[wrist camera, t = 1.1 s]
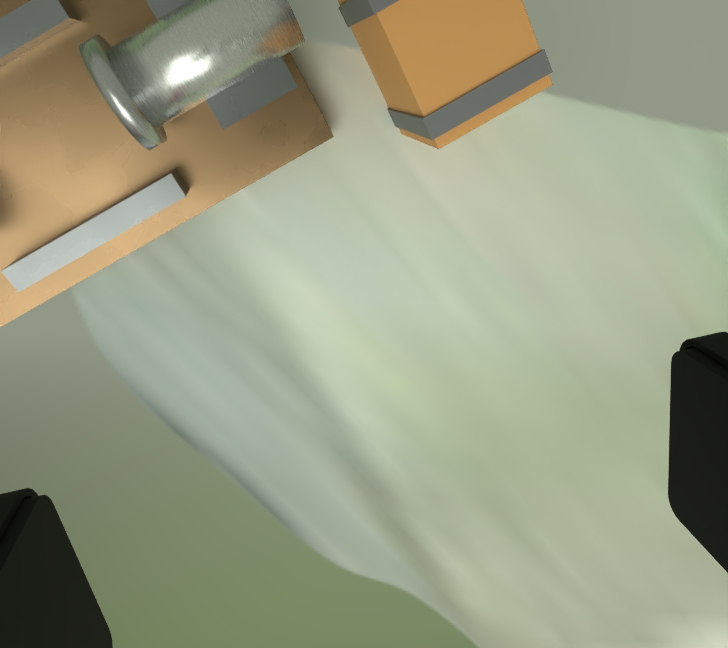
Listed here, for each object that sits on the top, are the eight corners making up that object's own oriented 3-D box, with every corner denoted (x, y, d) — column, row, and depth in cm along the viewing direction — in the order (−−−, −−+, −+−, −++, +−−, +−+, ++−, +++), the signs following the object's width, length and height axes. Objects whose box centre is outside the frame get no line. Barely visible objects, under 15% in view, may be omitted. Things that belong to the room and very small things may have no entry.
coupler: (333, -3, 25) (356, -24, 20) (437, -63, 25) (490, -102, 20) (399, 135, 28) (437, 150, 22) (494, 80, 28) (556, 83, 22)
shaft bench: (208, -122, 23) (193, -188, 17) (338, 129, 27) (362, 144, 21) (-267, 161, 24) (-436, 189, 18) (-74, 364, 28) (-160, 442, 22)
